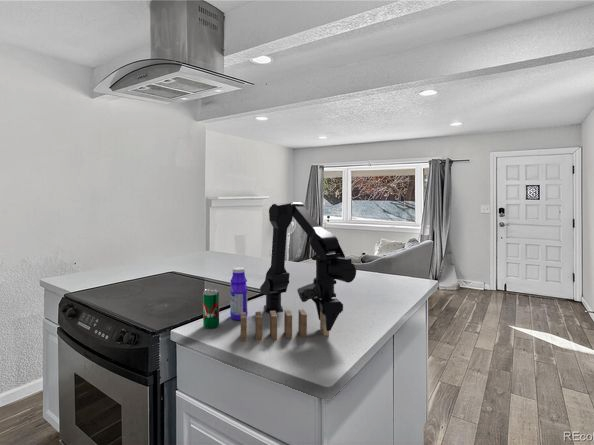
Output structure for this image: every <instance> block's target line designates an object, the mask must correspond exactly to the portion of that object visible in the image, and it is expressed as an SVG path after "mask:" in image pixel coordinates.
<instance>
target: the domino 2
mask: <svg viewBox="0 0 594 445" xmlns="http://www.w3.org/2000/svg"><path fill="white" fill-rule="evenodd" d="M254 317H255V320H254V321H255V322H254V323H255V332H254V333H255V338H256V341H262V340H263V315H262V311H260V310H259V311H255V316H254Z"/></svg>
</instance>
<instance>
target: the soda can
mask: <svg viewBox="0 0 594 445" xmlns="http://www.w3.org/2000/svg"><path fill="white" fill-rule="evenodd" d="M202 317H203V318H202V319H203V320H202V325H203V327H204V329H209V330H212V329H216V328H218V327H219V326H220V292H219V291H218V289H217V288H205V289H204V291H203V293H202Z"/></svg>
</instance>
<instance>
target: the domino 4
mask: <svg viewBox="0 0 594 445" xmlns="http://www.w3.org/2000/svg"><path fill="white" fill-rule="evenodd" d="M283 311H284V320H283V321H284V323H283V326H284V328H283V329H284V331H283V332H284V335H285V338H286V339H292V338H293V314H292V312H291V310H290V309H285V310H284V309H283Z"/></svg>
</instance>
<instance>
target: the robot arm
mask: <svg viewBox="0 0 594 445" xmlns="http://www.w3.org/2000/svg"><path fill="white" fill-rule="evenodd" d="M268 215H269V218H268V219H269V222H270V224H271V226H272V228H273V229H272V242H271V243H272V244H271V245H272V247H271V258H270V259H271V261H270V267H269V269H268V270H267V271H266V273H265V278H264V281H263V283H262V284H261V286H260V287H259V289H260V290H259V291H260V294H262V295H264V296H265V305H264V306H263V307H264V311H265V312H269V313H270V311H275V312H283V311H284V309H283V306H282V293H287V290H288V287H289V284H290V272H287V270H286V267H285V263H286V249H287V235H288V229H289V227H290V225H291V224H292V222H293V219H294V220H295V221H296V222H297V224H298V225H299V226H300V228H301V229H302V230H303V231H304V233H305V234H306V235H307V236H308V238H309V245H310V247H311V248H312V250H313V252H314V253H315V254H314V255H313V256H312V257H311V260H312V261H315V277H314V278H313V280H312V281H313V282H312V283H310V284H309V283H308V284H306V285H304V286H302V287H299V288H297V289H296V290H297V294H298V296H299V299H300V301H301V302H302V303H305V302H307V301H309V300H312V301H313V302H314V303H315V307H316V312H317V317H318V320H319V321H320V311H321V312H322V313H323V314H324V316H325V324H326V330H327V331H329V332H330V331H331V330H332V328H333V326H334V324H335V322H336V320H337V318H339V315H340V314H341V313H342V312H344V303H342V301H340V299H338V298H337V293H335V285H337V281H340V282H344V283H347V284H349V283H351V282H353V281H354V279H356V275H357V269H356V266H355V264H354V263H352V258H348V257H347V258H346V256H345V253H344V251H343V249H342V247H341V245H340V243H339V239H338V238H337V237H336V236H335V235H334V234H333V233H332V232H330V231H329V230H326V229H324V228H323V227H322V226H321V225H320V224H319V223H318V222H317V221H316V219H315V218H314V217H313V216H312V215H311V213H309V211H308V209H306V207H305V205H304V203H302V202H289V203H273V204H271V206H270V207H269V208H268Z"/></svg>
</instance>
